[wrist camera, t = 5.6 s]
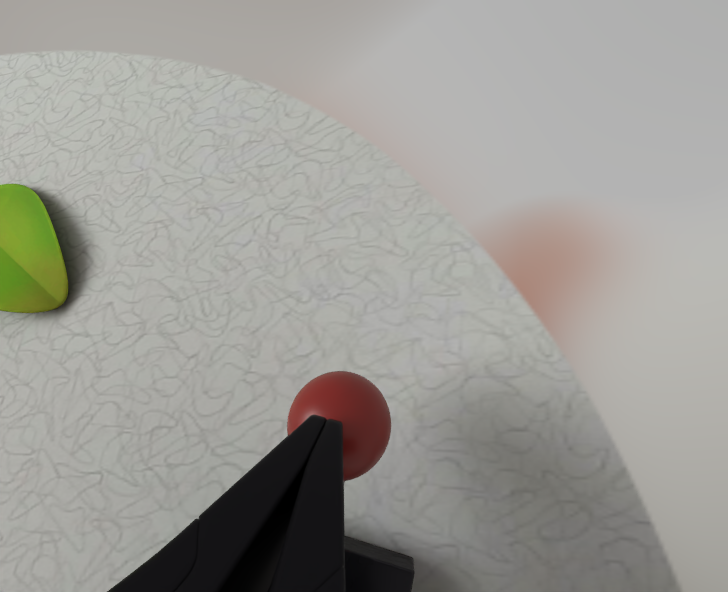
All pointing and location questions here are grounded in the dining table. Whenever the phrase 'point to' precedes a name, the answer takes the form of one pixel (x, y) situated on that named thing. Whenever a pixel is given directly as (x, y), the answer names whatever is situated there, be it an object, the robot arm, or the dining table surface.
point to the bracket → (376, 568)
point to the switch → (347, 416)
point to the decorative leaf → (29, 254)
